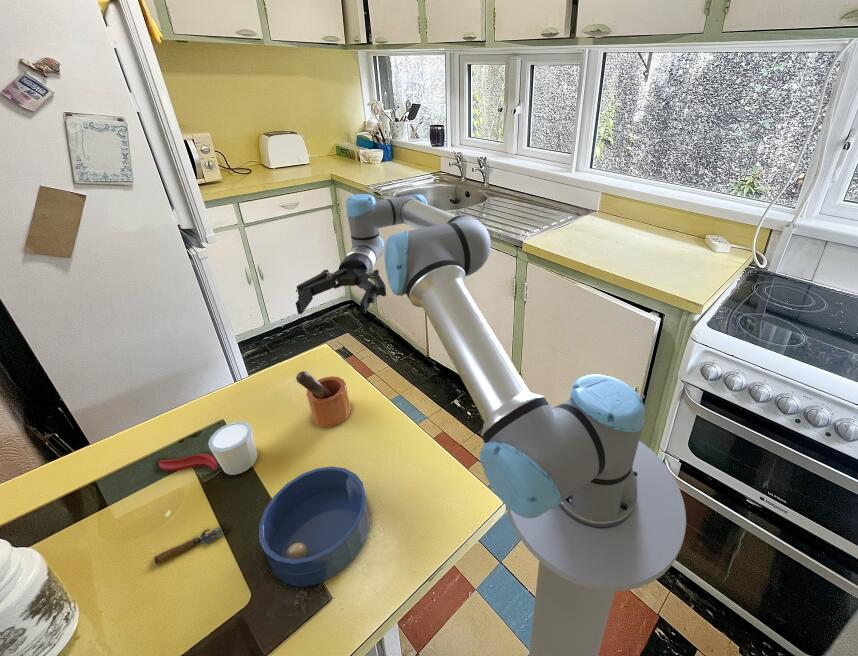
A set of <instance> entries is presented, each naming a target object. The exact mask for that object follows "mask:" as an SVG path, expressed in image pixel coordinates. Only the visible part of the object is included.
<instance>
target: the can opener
mask: <svg viewBox="0 0 858 656" xmlns="http://www.w3.org/2000/svg"><path fill="white" fill-rule="evenodd" d="M209 531H210V532H209ZM207 532H208V533H207ZM224 534H225V531H222V530H221V527H216V528H215V529H214V530H212V531H211V529H210V528H207V529H205V530H204V531H202V532H201V534H200V537H194V538H192V539H190V540H188V541H186V542H184V543H182V544H179V545H177V546H175V547H171V548H170V549H168V550H167V549H166V550H165V551H163V552H161V553H159V554H157V555H156V556H154V563H155V564H156V565H157V564H160V563H162V562H165V561H167V560H169V559H171V558H173V557H175V556H177V555H178V554H181V553H182V552H184V551H187V550H189V549H190V548H193V547H196V545H198V544H200V543H203V544H205V545H207V544H211V543H213V542H215V541H217V540H218V539H220V538H221V537H222V536H223V535H224Z"/></svg>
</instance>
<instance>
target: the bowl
mask: <svg viewBox="0 0 858 656" xmlns="http://www.w3.org/2000/svg"><path fill="white" fill-rule="evenodd" d="M258 527H259V529H258V530H259V531H258V533H259V534H258V535H259V538H258V539H259V543H260V545H261V548H262V550H263V553H264V555H265V557H266V559H267V562H268V564H269V566H270V569H271V570H272V572H273V574H274V576H276V578H278V579H279V580H281V581H282V582H283V583H284V584H287V585H291V586H293V587H311V586H316V585H319V584H322V583H324V582H327V581H329V580H331V579H333V578H334V577H336V576H337V575H339V574H341V573H342V572H343V571H344V570H346V569H347V568H348V567H349V566H350V565H351V564H352V563H353V562H354V560H356V558H357V557H358V555H359V554H360V553H361V551H362V549H364V546H365V544H366V542H367V540H368V536H369V533H370V530H371V512H370V506H369V502H368V497H367V492H366V488H365V485H364V482H363V481H362V480H361V478H360V477H359V476H358V475H357V473H355V472H353V471H351V470H349V469H347V468H345V467H338V466H325V467H324V466H323V467H318V468H314V469H311V470H309V471H306V472H304V473H301V474H299V475H297V476H296V477H295V478H293V479H291V480H290V481H288V482H287V483H286V484H285V485H283V486H282V487H281V488H280V489H279V491H278V492H276V493H275V494H274V495H273V497H272V499H271V500H270V501H269V502H268V504H267V505H266V507H265V508H264V511H263V513H262V516H261V519H260V521H259V526H258ZM298 542H300V543H303V544H305V545H306V547H307V550H308V553H307V557H306V558H299V559H291V558H285V555H286V552H287V550H288V549H289V547H290V546H291V545H293V544H295V543H298Z"/></svg>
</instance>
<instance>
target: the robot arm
mask: <svg viewBox="0 0 858 656" xmlns="http://www.w3.org/2000/svg"><path fill="white" fill-rule="evenodd" d="M345 206H346V217H347V220H348V227H349V231H350V232H349V233H350V239H351V245H352V246H351V249H350V250H349V251H348V253H347V254H346V255H345V256H344V257H343V259H342V261H341V262H340V263H339V266H338V269H337V270H336V271H334V272H330V271H329V269H323V270H322V272H320V273H319V274H316V275H315V276H313V277H311V278H309V279H307V280H305V281H303V282H301V283H300V284H297V285H296V291H297V295H298V296H297V299H298V300H297V301H296V302H295V306H296V311H297V314H298V315H302V314H303V313H304V312H305V310H306V309H307V308H308V306H309V305H310V304H311V302H312V301H313V300H314V297H315V296H317V295H320V294H321V293H324V292H326V291H330V290H333V289H335V290H337V289H339V288H342V287H348V286H349V287H355V286H356V287H358V288H359V289H360V290H361V289H362V290H363V291H364V294H363V296H362V298H361V300H360V302H359V305H360V310H361V312H360V313H361V314H366V313H367V311H368V309H369V307H370V304H374V303H375V302H376V300H377V298H378V297H379V296H381V297H386V296H387V287H386V284H385V282H384V281H383V279H382V277H381V276H380V275H381V274H380V270H379V269H374V268H375V266H376V264H377V262H378V261H379V259H380V258H381V256H382V254H384V255H383V256H384V267H385V273H386V277H387V282H388V285H389V287H390V291H391V292H392V293H393V294H394V295H395V296H398V297H399V296H400V297H403V296H404V295H406V296H407V298H408V300H409V302H410V303H411V305H413V306H415V307H416V308H421V309H422V308H423V311H424V312H425V314H426V316H427V318H428V320H429V322H430V324H431V326H432V328H433V329H434V331H435V333H436V335H437V336H438V339H439V340H440V342H441V345H442V346H443V347H444V350H445V351H446V353H447V355H448V357H449V358H450V360H451V363H452V364H453V366H454V368H455V370H456V372H457V373H458V376H459V377H460V379H461V381H462V383H463V384H464V386H465V388H466V390H467V392H468V394H469V396H470V398H471V399H472V401H473V403H474V405H475V407H476V409H477V411H478V412H479V414H480V416H481V418H482V420H483V426H482V430H481V434H480V436H481V439H482V440H483V443H484V444H483V446H482V448H481V449H480V451H479V460H480V465H481V467H482V468H483V474H484V476H485V478H486V480H487V481H488V483H489V485H490V487H491V489H492V490H493V492H494V493H495V495H496V496H497V497H498V498H499V500H500V501H501V502H502V503H503V504H504V505H505V506H506V508H507V507H508V508H509V509H510V510H512V511H513V512H514V513H516V514H517V515H519V516H521V517H524V518H528V519H532V518H536V517H539V516H540V515H542V514H543V513H545V512H547V511H548V510H550V509H554V508H555V507H557V506H558V505H559V507H560V508H561V509H562V510H563V511H564V512H565V513H566V514H567V515H568V516H569V517H570V518H572V519H573V520H575V521H577V522H578V523H580V524H583V525H585V526H588V527H592V528H600V529H604V528H611V527H615V526H618V525H620V524H621V523H623V522H624V521H626V520H627V519H628V518H629V516H630V515H631V513H632V512H633V509H634V506H635V502H636V498H637V487H636V482H635V477H634V476H637V475H638V474H637V472H635V471H633V468H632V466H633V463H634V459H635V455H636V451H637V447H638V443H639V441H640V439H641V435H642V430H643V429H644V426H645V414H646V408H645V404H644V401H643V399H642V397H641V396H640V395H639V393H638V392H637V391H636V390H635V389H634V388H632V387H631V386H630V385H629V384H628V383H626V382H624V381H622V380H620V379H618V378H616V377H613V376H608V375H604V374H595V373H594V374H593V373H592V374H586V375H583V376H580V377H579V378H577V379H576V380H575V381H574V382H573V384H572V387H571V389H570V397H569V398H568V399H567V400H565V401H564V402H562V403H560V404H558V405H556V406H555V407H553V408H552V406H551V404H549V402H548V401H547V399H546V398H545V396H544V395H542V394H537V393H533V392H531V391H530V390H529V388H528V386H527V385H526V383H525V382H524V380H523V379H522V376H521V375H520V374H519V372H518V370H517V368H516V367H515V365H514V364H513V362H512V360H511V359H510V357H509V356H508V353H507V352H506V351H505V349H504V347H503V346H502V344H501V342H500V341H499V340H498V338H497V336H496V335H495V333H494V332H493V330H492V328H491V327H490V325H489V323H488V322H487V320H486V318H485V317H484V315H483V314H482V312H481V311H480V309H479V307H478V306H477V304H476V303H475V301H474V300H473V298H472V296H471V294H470V293H469V291H468V290H467V288H466V287H465V285H464V284H465V281H466V277H468V276H470V275H473V274H475V273H476V272H478V271H479V270H480V269H481V268H482V267H483V266H484V265H485V263H486V262H487V260H488V258H489V256H490V253H491V249H492V247H491V245H492V243H491V242H492V241H491V236H490V233H489V231H488V230H487V228H486V226H485V225H484V224H483V223H482V222H480V221H479V220H477V219H476V218H473V217H471V216H469V215H465V214H459V215H458V214H457V215H454V214H452V213H449V212H447V211H444V210H443V209H439V208H437V207H435V206H433V205H431V204H429V203H428V201H427V199H426V197H425V196H424V195H423V194H407V195H405V196H404V195H403V196H397V197H391V198H383V199H377V200H376V198H375V196H374V195H372V194H369V193H356V194H353V195H350V196H349V197H348V198H346V202H345ZM402 224H403V225H404V224H405V225H406V226H408V227H410V228H412V229H411V230H407V229H406V230H404V231H402V232H397V233H394V234H392V235H390V236H389V237H388V238H387V240H386V241H385V242H384V239H383V238H382V236H380V229H381V228H382V229H383V228H386V227H387V228H388V227H392V226H397V225H402ZM383 252H384V253H383ZM369 279H370V280H371V281H372V282H373V283H372V282H371V281H370V280H369Z"/></svg>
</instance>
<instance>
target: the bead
mask: <svg viewBox="0 0 858 656" xmlns="http://www.w3.org/2000/svg"><path fill="white" fill-rule="evenodd" d="M307 553H308V550H307V547H306V545H305V544H303V543H300V542H298V543H295V544H293V545H291V546H290V547H289V549H288V550H287V552H286V555H285V558H291V559H299V558H306V557H307Z"/></svg>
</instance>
